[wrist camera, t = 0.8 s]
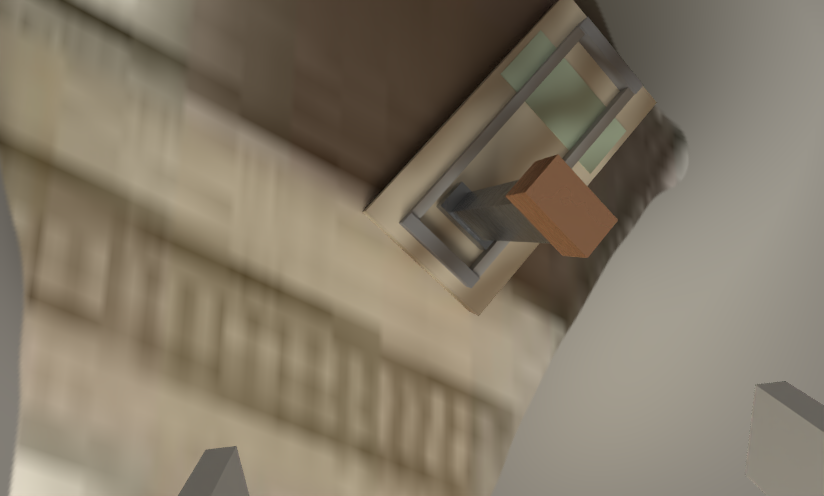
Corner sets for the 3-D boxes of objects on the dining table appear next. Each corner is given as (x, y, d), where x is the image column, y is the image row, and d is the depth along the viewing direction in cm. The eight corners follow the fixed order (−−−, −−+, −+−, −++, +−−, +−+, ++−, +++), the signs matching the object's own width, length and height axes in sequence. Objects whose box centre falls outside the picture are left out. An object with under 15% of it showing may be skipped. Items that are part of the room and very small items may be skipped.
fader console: (362, 212, 33) (368, 209, 30) (552, 5, 36) (576, -17, 33) (469, 311, 35) (484, 319, 32) (638, 109, 38) (668, 98, 35)
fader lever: (435, 206, 32) (522, 189, 19) (456, 183, 32) (555, 151, 19) (479, 249, 33) (590, 260, 20) (499, 226, 33) (620, 222, 20)
